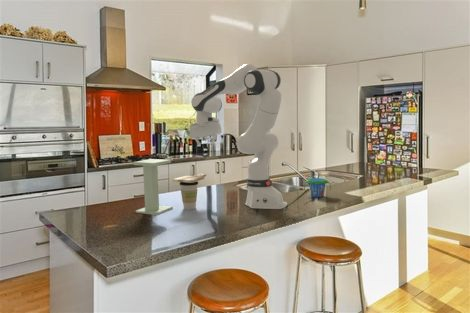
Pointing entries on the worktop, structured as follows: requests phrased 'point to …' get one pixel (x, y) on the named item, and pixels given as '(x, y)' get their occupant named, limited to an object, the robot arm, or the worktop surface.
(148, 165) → the tall stand
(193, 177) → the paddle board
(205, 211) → the worktop surface
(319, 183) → the snack cup
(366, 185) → the worktop surface
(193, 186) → the coffee cup
